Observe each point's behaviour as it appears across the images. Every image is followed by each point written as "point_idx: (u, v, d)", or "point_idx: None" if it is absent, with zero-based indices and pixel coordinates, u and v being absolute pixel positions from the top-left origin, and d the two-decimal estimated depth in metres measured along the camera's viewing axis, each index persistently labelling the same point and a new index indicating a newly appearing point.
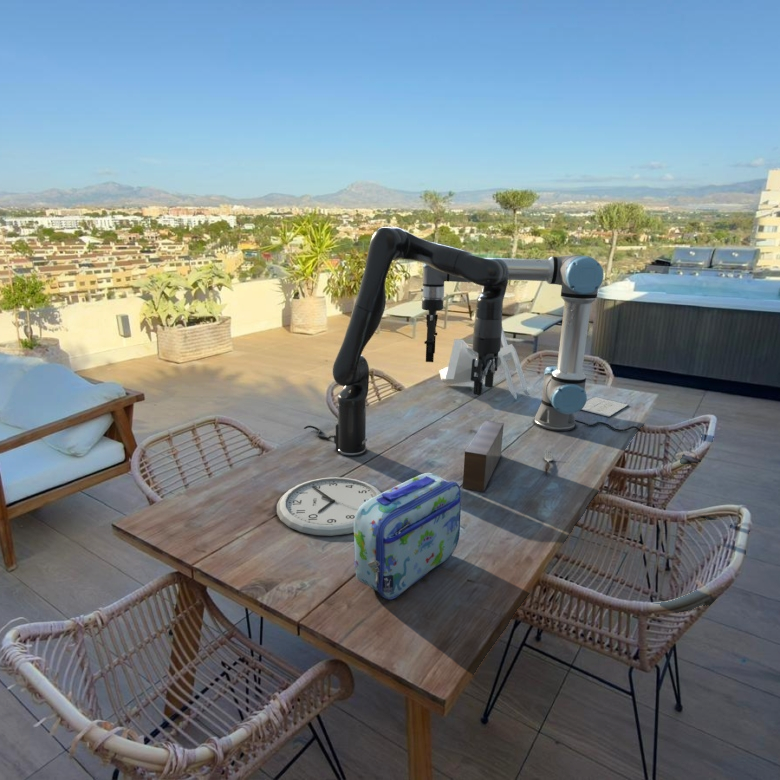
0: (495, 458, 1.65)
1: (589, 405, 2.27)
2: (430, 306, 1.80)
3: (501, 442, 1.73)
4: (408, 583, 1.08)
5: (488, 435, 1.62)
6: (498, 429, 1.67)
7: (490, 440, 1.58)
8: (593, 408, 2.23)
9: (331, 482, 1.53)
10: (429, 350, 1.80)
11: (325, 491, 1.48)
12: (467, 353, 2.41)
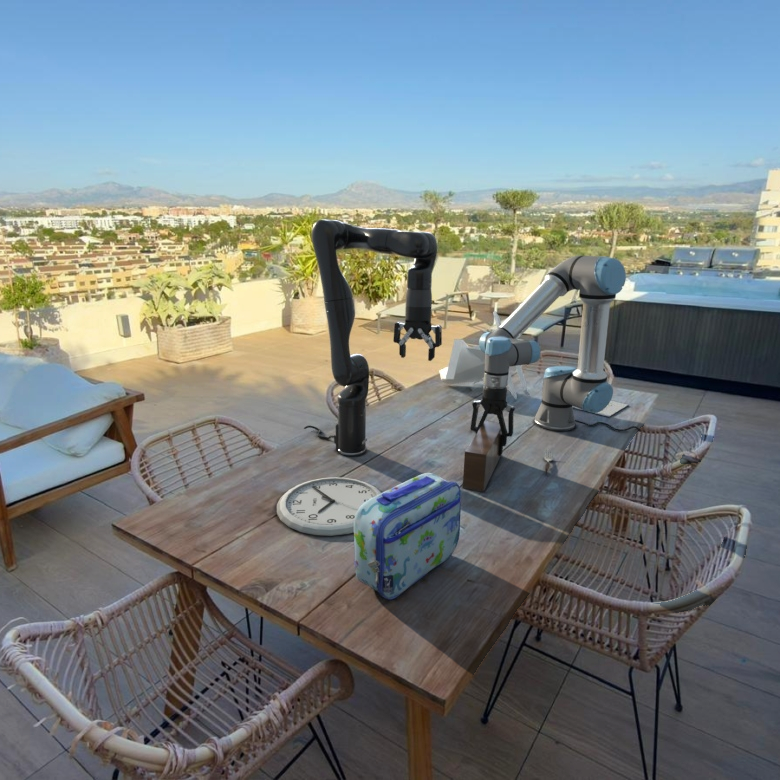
0: (495, 458, 1.65)
1: None
2: (506, 395, 1.65)
3: None
4: (408, 583, 1.08)
5: (488, 435, 1.62)
6: (498, 429, 1.67)
7: (490, 440, 1.58)
8: None
9: (331, 482, 1.53)
10: (506, 442, 1.70)
11: (325, 491, 1.48)
12: (467, 353, 2.41)
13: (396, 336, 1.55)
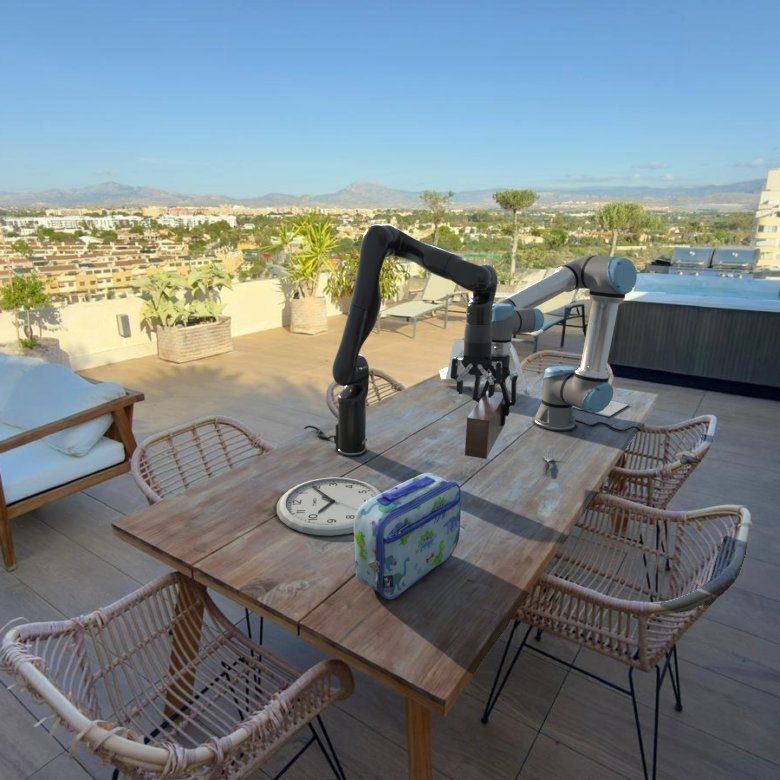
0: (498, 427, 1.62)
1: None
2: (508, 363, 1.62)
3: None
4: (408, 583, 1.08)
5: (490, 403, 1.59)
6: (501, 398, 1.64)
7: (493, 408, 1.55)
8: None
9: (331, 482, 1.53)
10: None
11: (325, 491, 1.48)
12: None
13: (454, 372, 1.48)
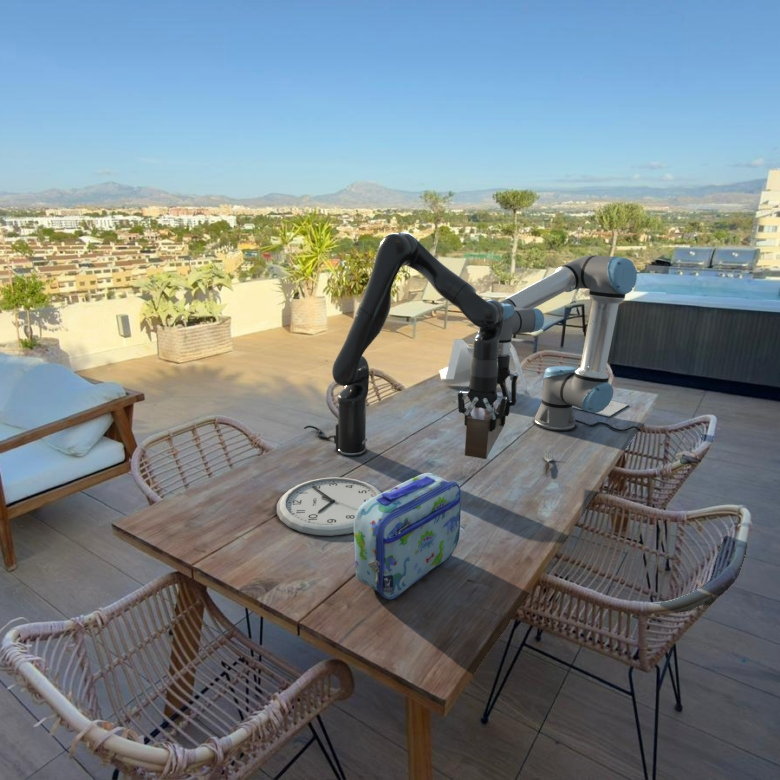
0: (498, 427, 1.62)
1: None
2: (508, 363, 1.62)
3: None
4: (408, 583, 1.08)
5: None
6: None
7: None
8: None
9: (331, 482, 1.53)
10: None
11: (325, 491, 1.48)
12: (467, 353, 2.41)
13: (461, 406, 1.50)
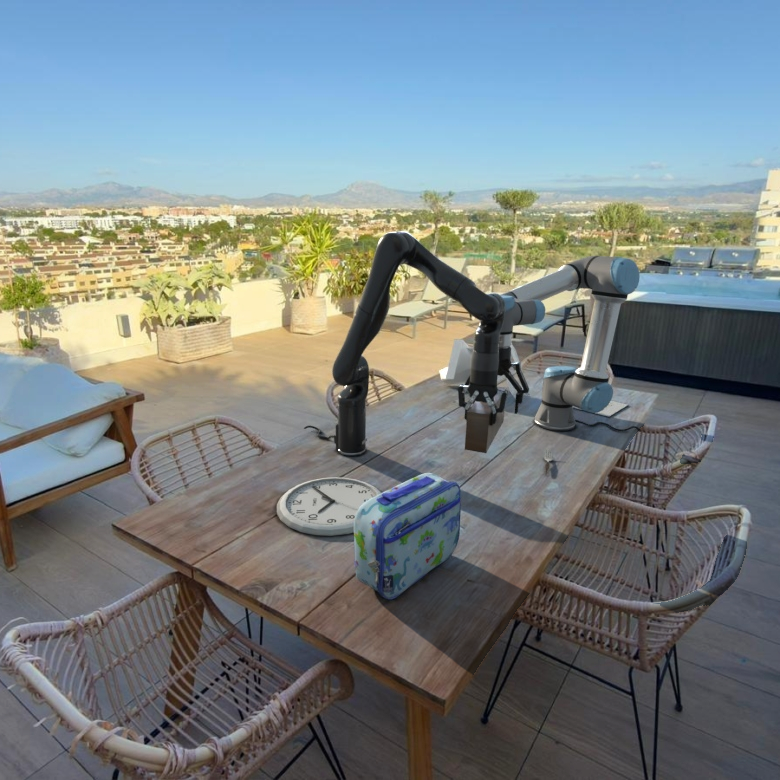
0: (498, 422, 1.62)
1: None
2: (510, 354, 1.62)
3: None
4: (408, 583, 1.08)
5: None
6: None
7: None
8: None
9: (331, 482, 1.53)
10: None
11: (325, 491, 1.48)
12: (467, 353, 2.41)
13: (462, 400, 1.49)
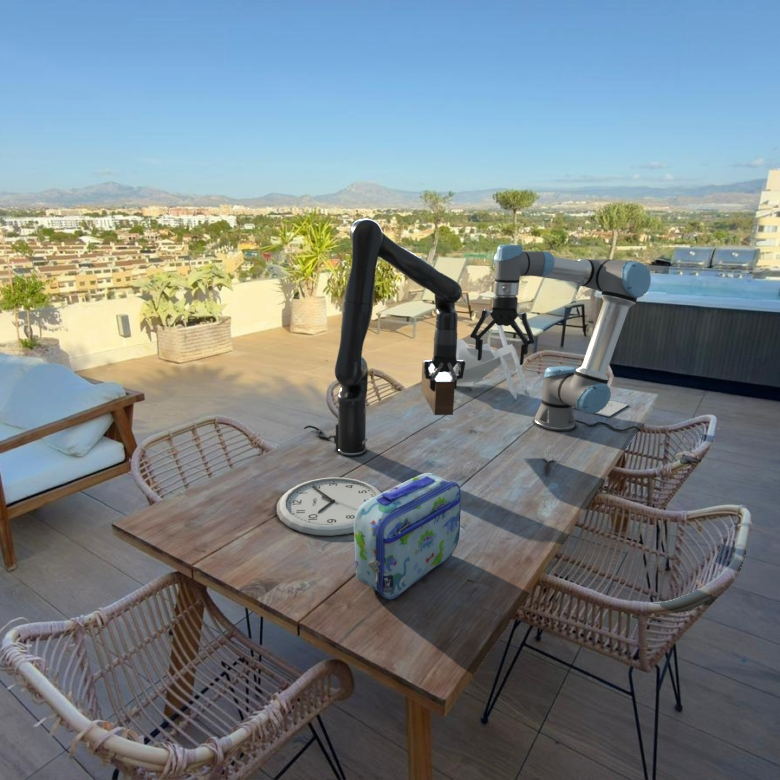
0: None
1: None
2: (516, 304, 1.62)
3: None
4: (408, 583, 1.08)
5: None
6: None
7: (444, 372, 1.82)
8: None
9: (331, 482, 1.53)
10: (527, 351, 1.65)
11: (325, 491, 1.48)
12: (467, 353, 2.41)
13: (428, 373, 1.72)
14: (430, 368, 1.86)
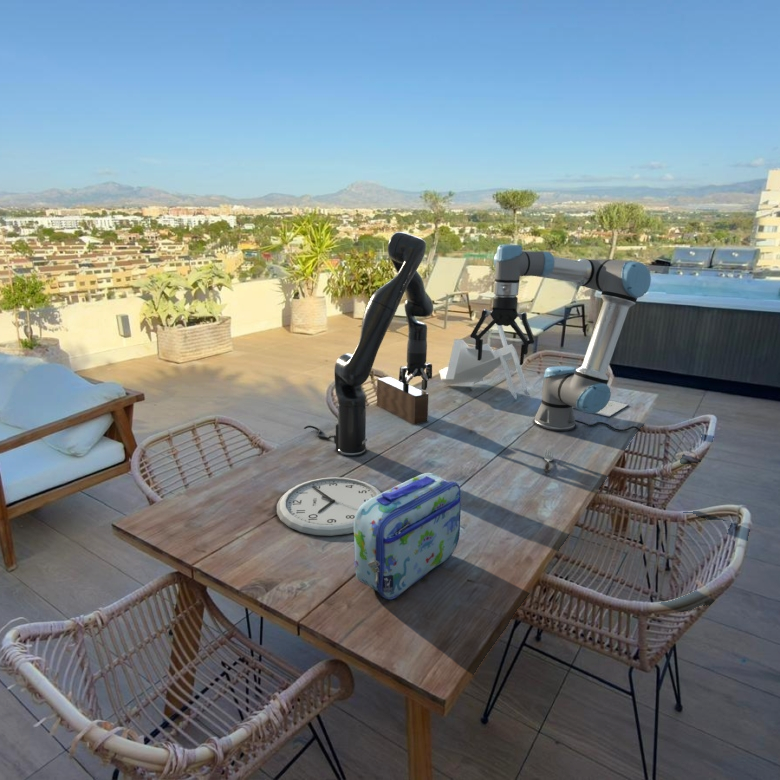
0: None
1: None
2: (516, 304, 1.62)
3: None
4: (408, 583, 1.08)
5: (400, 384, 2.12)
6: (396, 380, 2.18)
7: (409, 386, 2.10)
8: None
9: (331, 482, 1.53)
10: (527, 351, 1.65)
11: (325, 491, 1.48)
12: (467, 353, 2.41)
13: (404, 378, 1.97)
14: (393, 384, 2.12)
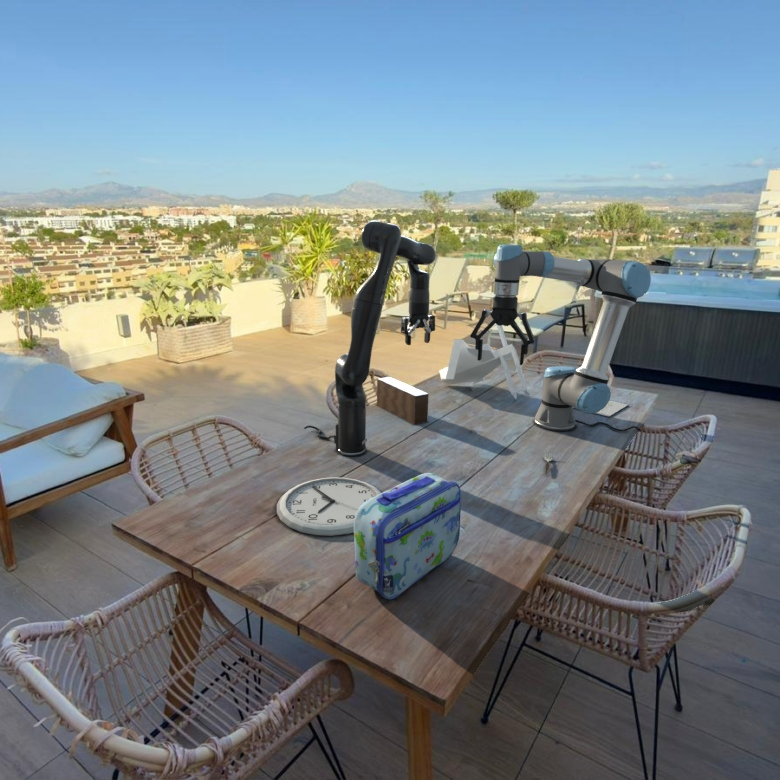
0: None
1: None
2: (516, 304, 1.62)
3: None
4: (408, 583, 1.08)
5: (400, 384, 2.12)
6: (396, 380, 2.18)
7: (409, 386, 2.10)
8: None
9: (331, 482, 1.53)
10: (527, 351, 1.65)
11: (325, 491, 1.48)
12: (467, 353, 2.41)
13: (406, 329, 1.92)
14: (393, 384, 2.12)
